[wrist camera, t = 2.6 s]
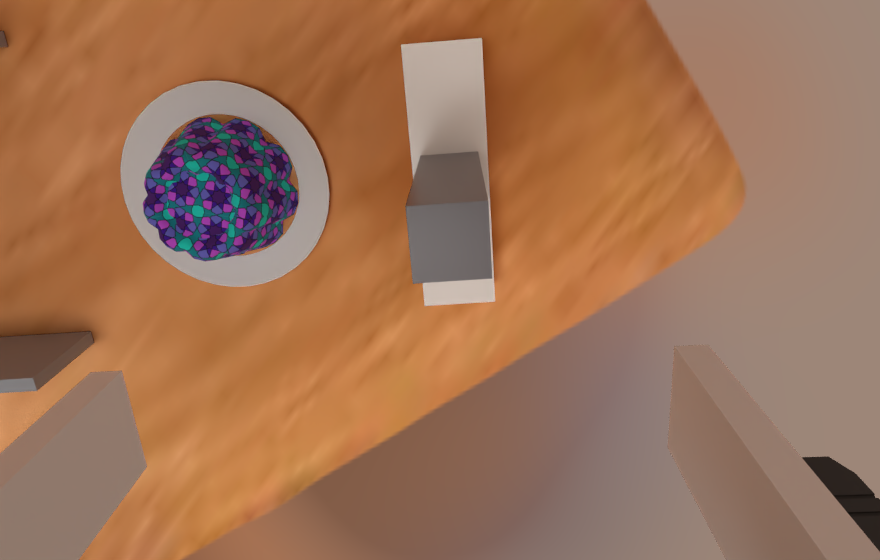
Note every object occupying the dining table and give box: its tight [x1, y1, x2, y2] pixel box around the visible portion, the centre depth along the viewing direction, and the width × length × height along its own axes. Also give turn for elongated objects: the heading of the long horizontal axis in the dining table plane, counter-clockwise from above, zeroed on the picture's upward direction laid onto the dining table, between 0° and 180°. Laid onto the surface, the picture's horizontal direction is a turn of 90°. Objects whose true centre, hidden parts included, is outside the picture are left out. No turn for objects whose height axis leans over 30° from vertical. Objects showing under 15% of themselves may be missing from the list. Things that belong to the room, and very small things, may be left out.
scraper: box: [401, 38, 495, 306], centre depth 30 cm, size 14×4×14 cm, turn 4°
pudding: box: [120, 80, 329, 287], centre depth 35 cm, size 12×12×5 cm
